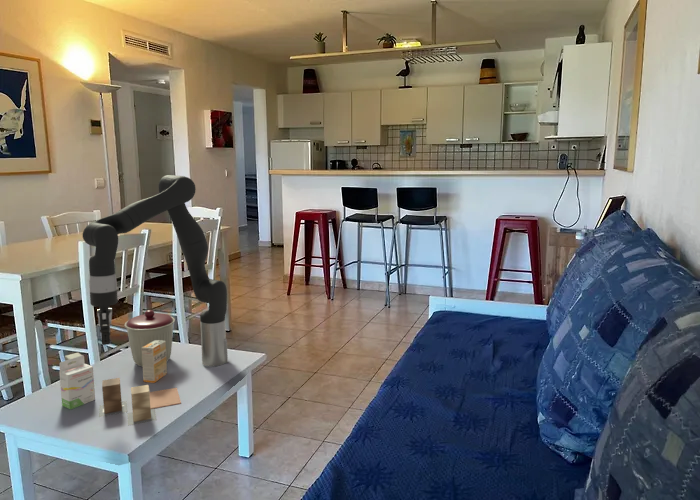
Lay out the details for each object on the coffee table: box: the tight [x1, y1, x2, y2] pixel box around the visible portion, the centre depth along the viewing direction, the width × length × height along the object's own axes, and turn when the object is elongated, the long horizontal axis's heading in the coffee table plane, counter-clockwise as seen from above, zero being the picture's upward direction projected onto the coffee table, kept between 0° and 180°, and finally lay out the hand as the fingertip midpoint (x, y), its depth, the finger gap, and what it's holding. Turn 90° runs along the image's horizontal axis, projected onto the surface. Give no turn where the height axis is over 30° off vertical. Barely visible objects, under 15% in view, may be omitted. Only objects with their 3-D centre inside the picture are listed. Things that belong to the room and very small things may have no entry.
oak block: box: [130, 384, 151, 422], centre depth 154 cm, size 5×5×9 cm
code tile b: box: [126, 408, 158, 426], centre depth 154 cm, size 8×8×1 cm
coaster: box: [149, 387, 182, 409], centre depth 166 cm, size 12×12×1 cm
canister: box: [124, 309, 176, 367], centre depth 194 cm, size 18×18×21 cm
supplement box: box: [142, 340, 168, 384], centre depth 181 cm, size 8×5×13 cm, turn 168°
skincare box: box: [64, 352, 86, 365], centre depth 171 cm, size 6×4×12 cm
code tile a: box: [98, 400, 128, 418], centre depth 159 cm, size 8×8×1 cm
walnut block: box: [101, 377, 123, 414], centre depth 158 cm, size 5×5×9 cm
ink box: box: [58, 354, 96, 410], centre depth 162 cm, size 9×5×15 cm, turn 148°
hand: (106, 339), depth 155 cm, fingers open, 8 cm apart
